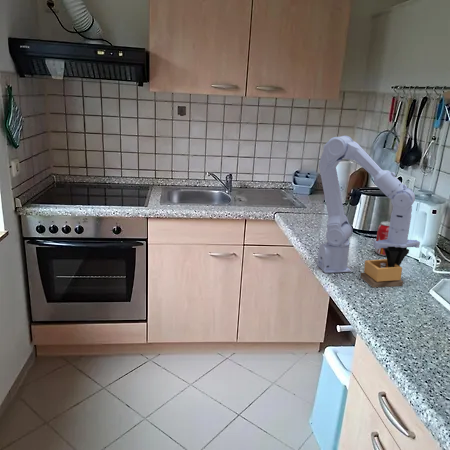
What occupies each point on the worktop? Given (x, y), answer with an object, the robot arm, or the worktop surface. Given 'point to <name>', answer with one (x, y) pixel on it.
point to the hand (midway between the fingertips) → (392, 269)
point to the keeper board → (381, 283)
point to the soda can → (382, 235)
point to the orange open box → (382, 270)
